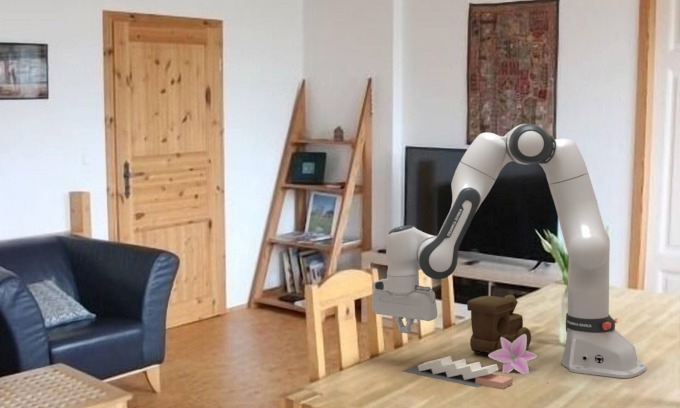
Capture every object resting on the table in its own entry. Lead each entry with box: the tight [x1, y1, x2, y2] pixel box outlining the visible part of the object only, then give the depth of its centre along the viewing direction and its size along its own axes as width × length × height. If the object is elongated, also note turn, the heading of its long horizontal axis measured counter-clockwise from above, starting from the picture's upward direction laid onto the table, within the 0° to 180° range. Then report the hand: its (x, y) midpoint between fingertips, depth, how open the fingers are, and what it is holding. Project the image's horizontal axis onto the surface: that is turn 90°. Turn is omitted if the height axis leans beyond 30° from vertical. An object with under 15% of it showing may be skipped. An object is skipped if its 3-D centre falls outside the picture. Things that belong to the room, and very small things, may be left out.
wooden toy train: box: [466, 294, 532, 354], centre depth 271 cm, size 20×11×17 cm, turn 138°
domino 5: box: [476, 373, 513, 390], centre depth 240 cm, size 2×5×8 cm
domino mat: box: [402, 362, 483, 388], centre depth 249 cm, size 24×10×1 cm, turn 50°
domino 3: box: [446, 361, 482, 377], centre depth 246 cm, size 2×5×8 cm
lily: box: [487, 334, 538, 375], centre depth 252 cm, size 12×12×10 cm
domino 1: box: [417, 355, 453, 371], centre depth 252 cm, size 2×5×8 cm
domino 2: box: [432, 358, 467, 374], centre depth 249 cm, size 2×5×8 cm
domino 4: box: [462, 363, 499, 380], centre depth 243 cm, size 2×5×8 cm
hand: (405, 332), depth 259 cm, fingers closed
